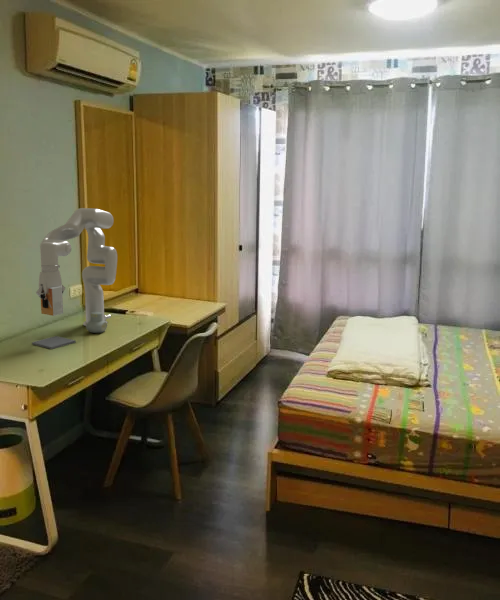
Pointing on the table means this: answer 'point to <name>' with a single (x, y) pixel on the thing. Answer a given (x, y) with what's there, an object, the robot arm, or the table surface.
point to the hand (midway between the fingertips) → (51, 306)
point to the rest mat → (54, 342)
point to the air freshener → (96, 323)
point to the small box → (53, 302)
